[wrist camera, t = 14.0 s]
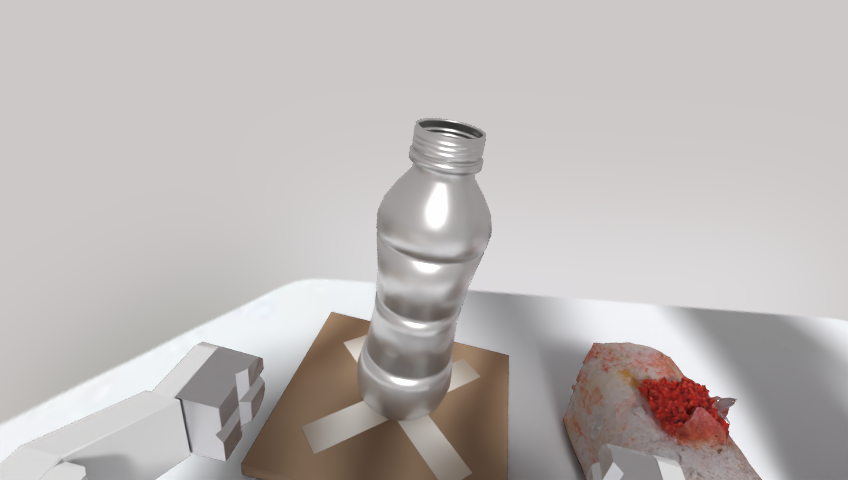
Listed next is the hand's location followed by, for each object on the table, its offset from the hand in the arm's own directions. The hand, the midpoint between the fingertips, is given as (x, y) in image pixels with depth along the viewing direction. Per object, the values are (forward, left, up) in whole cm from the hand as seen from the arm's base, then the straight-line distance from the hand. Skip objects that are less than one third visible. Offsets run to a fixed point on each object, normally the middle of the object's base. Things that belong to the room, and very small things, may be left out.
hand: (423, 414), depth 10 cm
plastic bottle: (+2, -15, -17) cm, 23 cm away
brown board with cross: (+2, -15, -18) cm, 24 cm away
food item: (-15, -13, -19) cm, 27 cm away
